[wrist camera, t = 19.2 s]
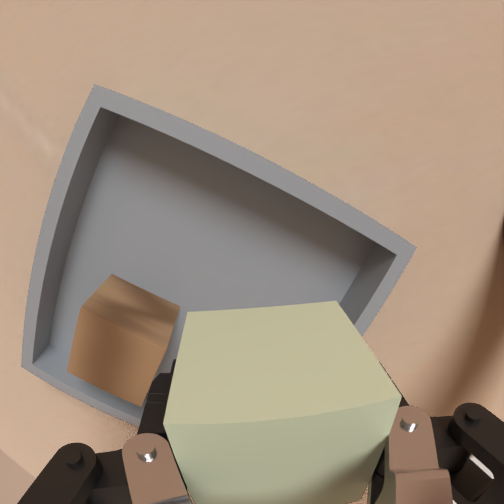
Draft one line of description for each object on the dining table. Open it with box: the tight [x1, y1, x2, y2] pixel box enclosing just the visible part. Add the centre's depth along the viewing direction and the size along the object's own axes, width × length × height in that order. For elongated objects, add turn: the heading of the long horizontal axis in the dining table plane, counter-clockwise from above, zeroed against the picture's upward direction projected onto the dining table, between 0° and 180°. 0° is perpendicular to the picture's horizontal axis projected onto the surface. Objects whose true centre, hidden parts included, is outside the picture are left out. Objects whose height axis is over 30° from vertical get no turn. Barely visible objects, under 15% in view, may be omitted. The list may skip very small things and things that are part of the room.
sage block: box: [163, 301, 402, 504], centre depth 9 cm, size 5×5×5 cm
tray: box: [21, 84, 417, 427], centre depth 19 cm, size 20×20×4 cm
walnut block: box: [67, 274, 180, 407], centre depth 18 cm, size 5×5×5 cm
